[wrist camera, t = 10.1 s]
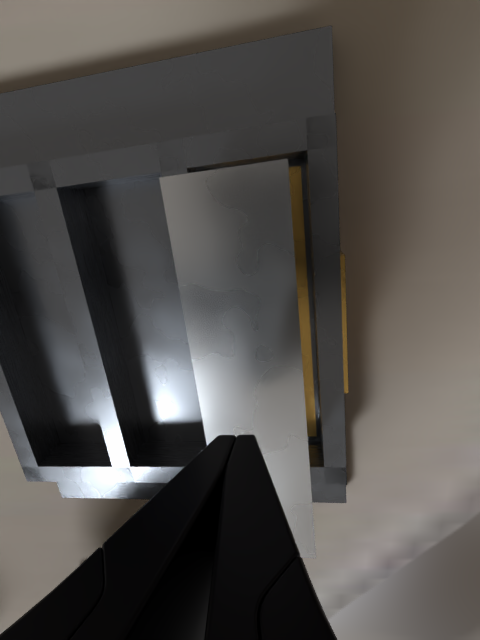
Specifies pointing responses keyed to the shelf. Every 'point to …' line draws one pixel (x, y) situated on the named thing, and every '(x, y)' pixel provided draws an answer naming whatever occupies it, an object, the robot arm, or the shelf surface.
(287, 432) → the panel
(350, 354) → the shelf surface
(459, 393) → the shelf surface
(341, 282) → the rack
